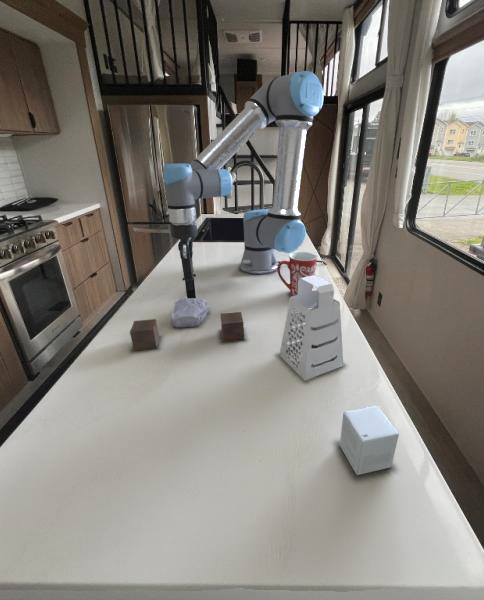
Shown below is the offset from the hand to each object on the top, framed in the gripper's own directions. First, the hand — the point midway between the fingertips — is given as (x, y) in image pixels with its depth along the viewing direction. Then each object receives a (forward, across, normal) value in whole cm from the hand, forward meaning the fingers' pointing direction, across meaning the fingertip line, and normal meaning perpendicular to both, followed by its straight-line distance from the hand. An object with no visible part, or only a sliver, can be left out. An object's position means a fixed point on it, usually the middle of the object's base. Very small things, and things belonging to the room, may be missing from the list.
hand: (191, 297), depth 102 cm
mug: (+2, -1, +34) cm, 34 cm away
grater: (+3, +35, +28) cm, 45 cm away
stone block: (+3, +9, 0) cm, 9 cm away
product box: (+3, +61, +30) cm, 68 cm away
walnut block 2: (+2, +21, +11) cm, 24 cm away
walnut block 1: (+2, +21, -11) cm, 24 cm away
